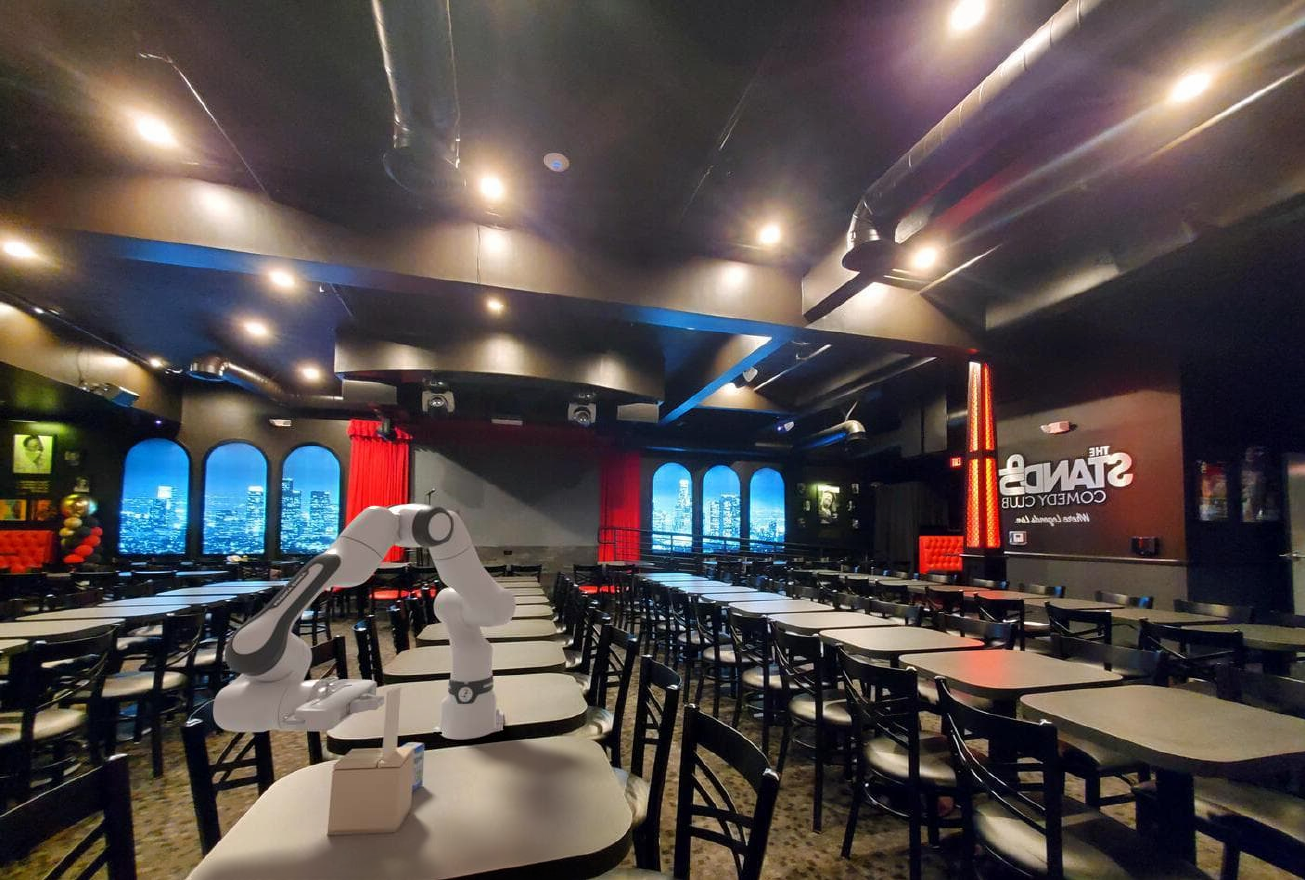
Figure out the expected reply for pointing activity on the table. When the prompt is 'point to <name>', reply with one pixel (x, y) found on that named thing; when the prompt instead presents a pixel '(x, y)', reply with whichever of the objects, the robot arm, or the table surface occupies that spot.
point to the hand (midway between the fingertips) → (381, 702)
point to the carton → (369, 794)
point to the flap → (393, 733)
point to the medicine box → (417, 763)
